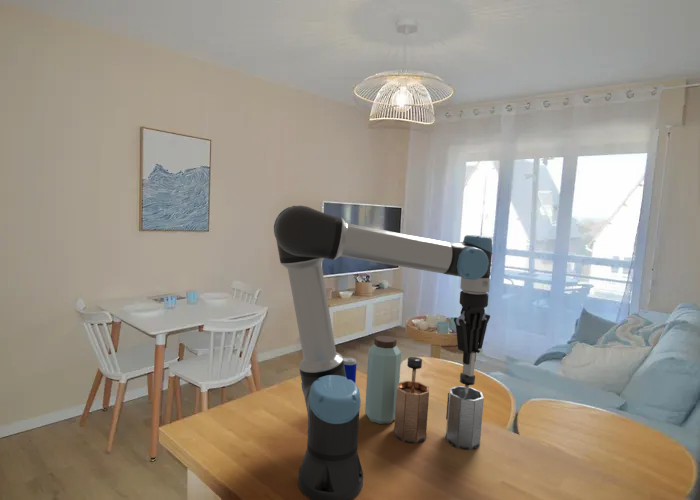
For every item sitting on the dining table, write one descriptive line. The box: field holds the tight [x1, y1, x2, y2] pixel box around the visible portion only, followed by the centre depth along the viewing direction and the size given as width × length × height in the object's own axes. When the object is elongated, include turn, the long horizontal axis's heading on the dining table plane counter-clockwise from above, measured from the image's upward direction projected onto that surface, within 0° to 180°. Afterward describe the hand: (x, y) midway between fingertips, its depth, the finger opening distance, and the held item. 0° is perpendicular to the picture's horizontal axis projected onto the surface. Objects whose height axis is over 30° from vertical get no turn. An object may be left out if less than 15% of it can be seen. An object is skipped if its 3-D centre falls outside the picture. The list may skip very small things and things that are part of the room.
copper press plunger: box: [403, 356, 423, 394], centre depth 118 cm, size 7×7×11 cm
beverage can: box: [343, 356, 358, 384], centre depth 136 cm, size 5×5×15 cm
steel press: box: [445, 385, 485, 451], centre depth 117 cm, size 9×10×14 cm
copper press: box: [393, 380, 430, 444], centre depth 119 cm, size 9×10×14 cm
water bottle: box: [364, 335, 402, 425], centre depth 127 cm, size 10×10×25 cm
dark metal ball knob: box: [459, 372, 476, 399], centre depth 116 cm, size 7×7×11 cm
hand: (468, 374), depth 116 cm, fingers closed
